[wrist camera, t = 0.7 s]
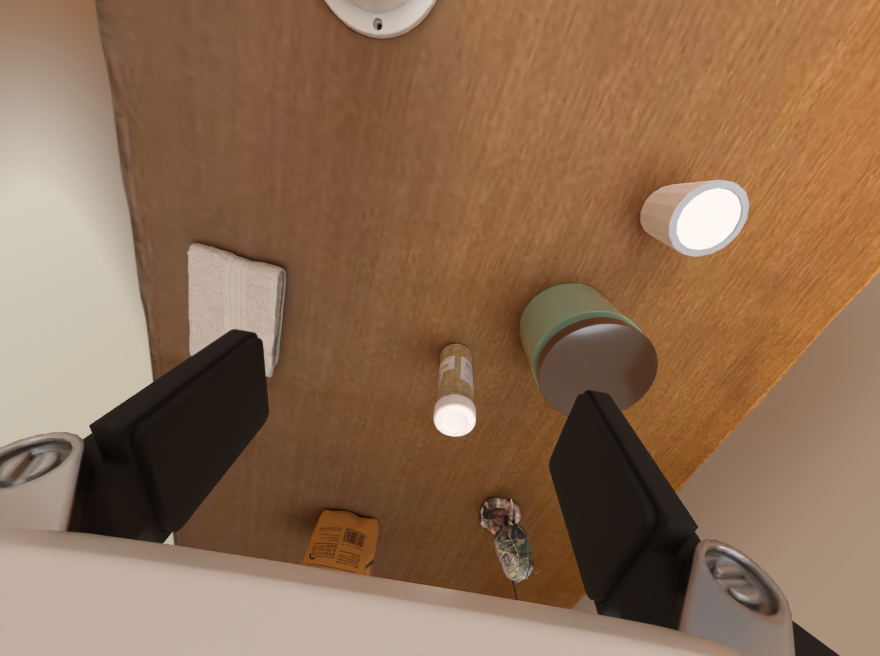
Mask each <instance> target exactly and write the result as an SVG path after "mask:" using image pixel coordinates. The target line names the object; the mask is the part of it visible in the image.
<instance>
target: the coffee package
mask: <svg viewBox="0 0 880 656" xmlns="http://www.w3.org/2000/svg"><path fill="white" fill-rule="evenodd" d="M378 534H379V525H378V521H377V519H374V518H362V517H359V516H357V515H355V514H354V513H352V512H349V511H331V510H324V511H323V512H322V514H321V516H320V518H319V520H318V522H317V524H316V526H315V529H314V531H313V533H312V536H311V539H310V542H309V545H308V548H307V551H306V554H305V557H304V559H303V562H302V564H301V565H304V566H310V567H316V568H323V569H329V570H335V571H341V572H348V573H354V574H360V575H366V576H370V574H371V571H372V567H373V562H374V557H375V551H376V544H377V537H378Z"/></svg>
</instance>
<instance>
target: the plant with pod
mask: <svg viewBox="0 0 880 656" xmlns="http://www.w3.org/2000/svg"><path fill="white" fill-rule="evenodd" d="M518 508H519V507H518V505H517V503H515V502H514V501H513V500H512V499H510V500H507V499H504V500H503V498H498V499H497V498H495V497H494V499H493V498H491V499H488V500H487V501H486V502H485V503H484V505H483V508H482V510H481V511H480V512H481V517H482V518H481V519H480V521H482V523H481V525H482V526H483V528H484V527H485V530H488V531H489V533H490V532H491V533H492V534H495V537H494V543H495V549H496V554H497V555H498V558H499V561H500V564H501V566H502V569H503V571H504V572H505V574H506V576H507V577H508V579H510V580H512V583H513V586H514V591H515V595H516V599H517V600H518V595H517V591H516V588H515V583H518V582H520V581H522V580H524V579H527V577H529V575H530V574H531V571H532V570H533V560H532V559H533V556H532V549H531V546H530V543H529V540H528V536H527V533H526V531H525V530H524V527H521V526H519V525H517V524H516V523H518V520H519V519H521V518H522V517H521V514H520V510H519V509H518ZM535 573H536V572H535ZM536 574H537V573H536ZM514 582H515V583H514ZM518 601H519V600H518Z"/></svg>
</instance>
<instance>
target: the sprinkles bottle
mask: <svg viewBox="0 0 880 656" xmlns="http://www.w3.org/2000/svg"><path fill="white" fill-rule="evenodd" d="M440 360H441V363H440V369H439V380H438V394H437V403H436V405H435V408H434V424H435V426H436V428H437V429H438V430H439V431H440V432H442V433H443V434H445V435H448V436H462V435H465V434H467V433H469V432H470V431H471V430H472V429H473V428H474V426H475V423H476V409H475V406H474V401H473V394H474V393H473V376H472V366H471V360H472V355H471V352H470V351H469V349H468V348H467V347H466V346H464V345H461V344H458V343H457V344H451V345H448V346H447V347H445V348H444V349H443V351H442V352H441V355H440Z"/></svg>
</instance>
